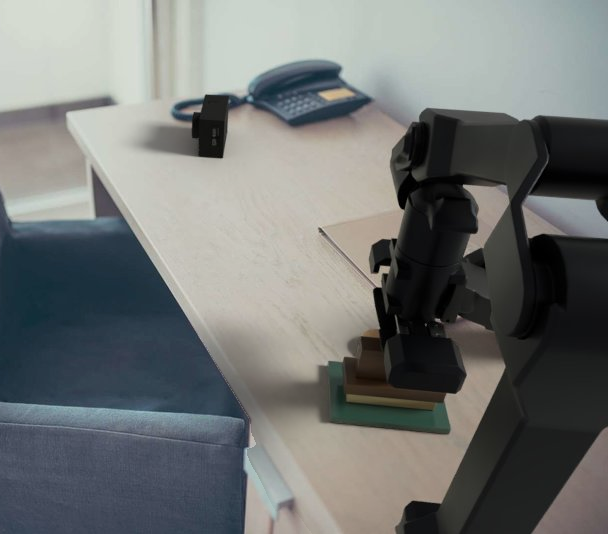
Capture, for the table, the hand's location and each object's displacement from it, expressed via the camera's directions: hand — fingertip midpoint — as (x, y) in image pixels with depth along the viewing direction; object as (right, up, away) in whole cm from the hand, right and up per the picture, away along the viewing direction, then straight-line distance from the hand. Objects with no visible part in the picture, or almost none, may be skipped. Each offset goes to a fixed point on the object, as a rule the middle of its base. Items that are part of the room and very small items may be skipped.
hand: (393, 369), depth 66 cm
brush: (0, -3, +2) cm, 4 cm away
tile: (0, -4, +3) cm, 5 cm away
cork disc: (+1, +1, +9) cm, 9 cm away
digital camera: (-19, +32, +48) cm, 61 cm away
